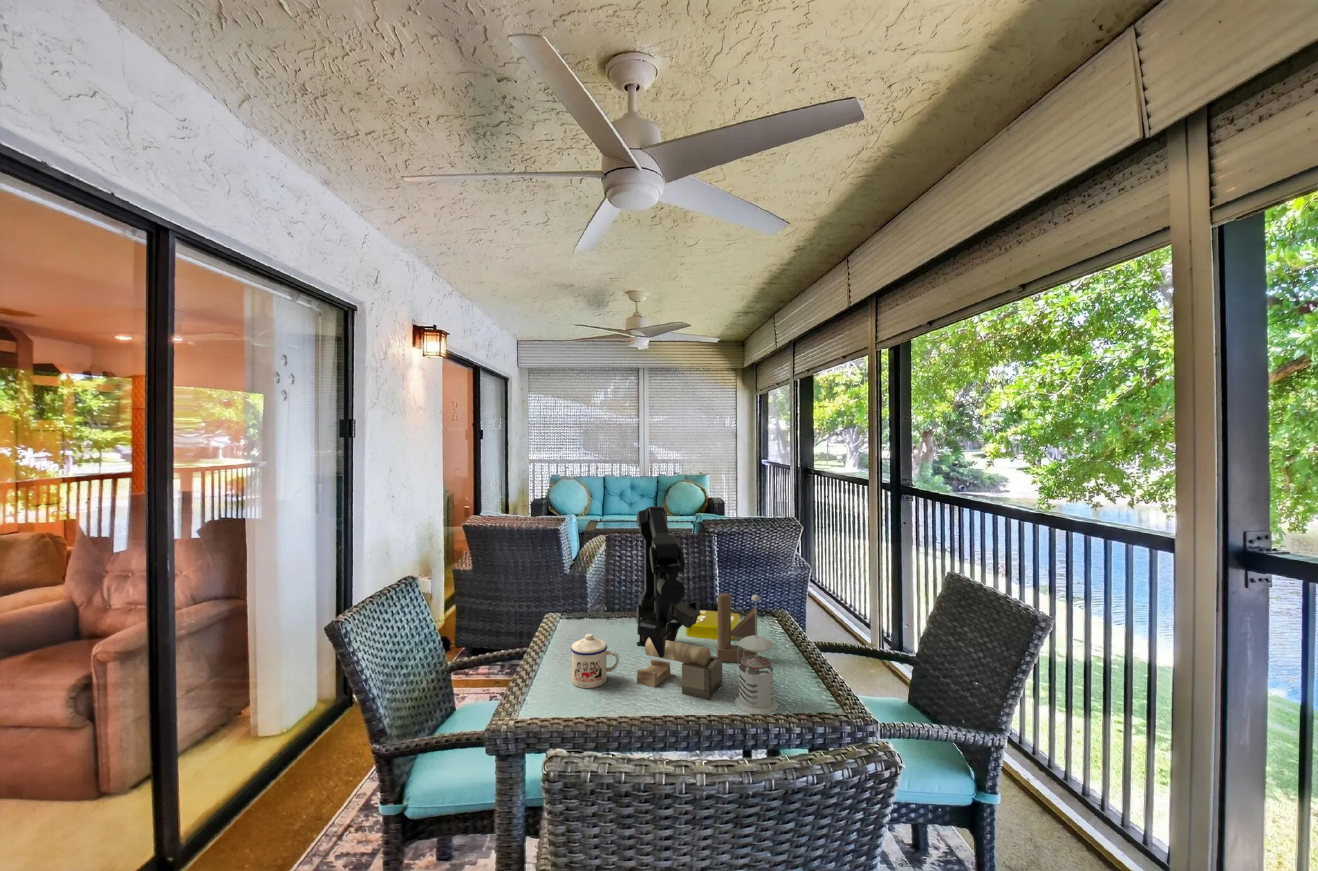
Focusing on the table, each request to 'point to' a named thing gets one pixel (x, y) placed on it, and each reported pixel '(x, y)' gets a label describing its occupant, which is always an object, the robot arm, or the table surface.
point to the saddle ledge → (653, 673)
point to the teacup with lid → (590, 662)
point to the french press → (755, 675)
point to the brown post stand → (725, 633)
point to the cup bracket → (702, 678)
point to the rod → (681, 652)
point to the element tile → (709, 625)
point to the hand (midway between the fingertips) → (665, 653)
